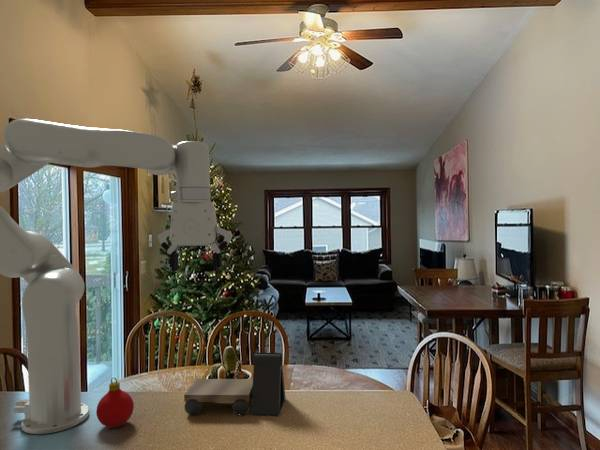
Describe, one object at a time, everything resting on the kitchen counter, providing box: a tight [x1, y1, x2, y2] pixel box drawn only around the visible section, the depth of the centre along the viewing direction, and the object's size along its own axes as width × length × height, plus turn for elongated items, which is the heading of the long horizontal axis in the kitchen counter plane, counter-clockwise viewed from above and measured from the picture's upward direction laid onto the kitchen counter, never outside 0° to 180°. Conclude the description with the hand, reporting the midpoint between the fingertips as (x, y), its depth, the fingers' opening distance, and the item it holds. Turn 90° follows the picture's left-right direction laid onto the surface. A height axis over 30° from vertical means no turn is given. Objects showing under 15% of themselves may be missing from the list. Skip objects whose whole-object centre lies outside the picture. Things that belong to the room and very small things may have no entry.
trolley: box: [183, 378, 253, 416], centre depth 98 cm, size 14×9×4 cm, turn 87°
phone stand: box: [250, 352, 286, 417], centre depth 97 cm, size 9×6×12 cm, turn 172°
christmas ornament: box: [95, 377, 135, 428], centre depth 90 cm, size 7×7×10 cm
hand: (195, 270), depth 100 cm, fingers open, 9 cm apart
